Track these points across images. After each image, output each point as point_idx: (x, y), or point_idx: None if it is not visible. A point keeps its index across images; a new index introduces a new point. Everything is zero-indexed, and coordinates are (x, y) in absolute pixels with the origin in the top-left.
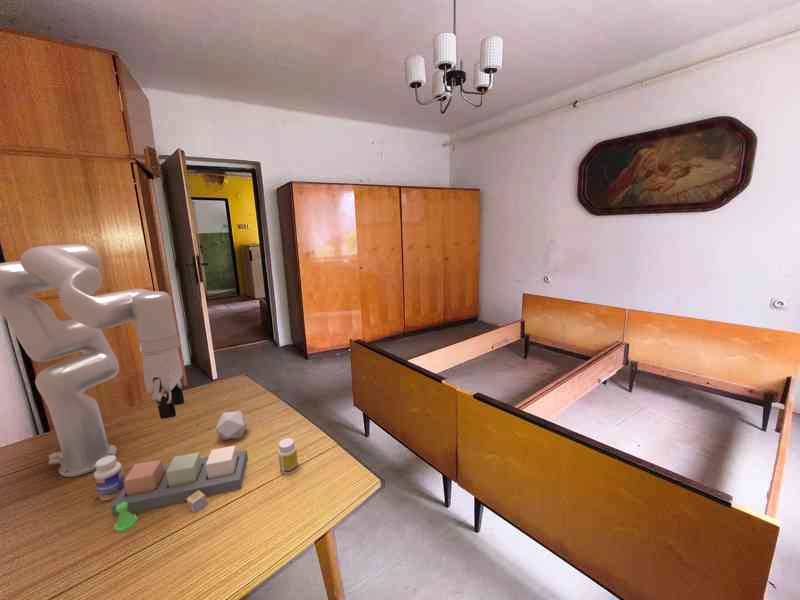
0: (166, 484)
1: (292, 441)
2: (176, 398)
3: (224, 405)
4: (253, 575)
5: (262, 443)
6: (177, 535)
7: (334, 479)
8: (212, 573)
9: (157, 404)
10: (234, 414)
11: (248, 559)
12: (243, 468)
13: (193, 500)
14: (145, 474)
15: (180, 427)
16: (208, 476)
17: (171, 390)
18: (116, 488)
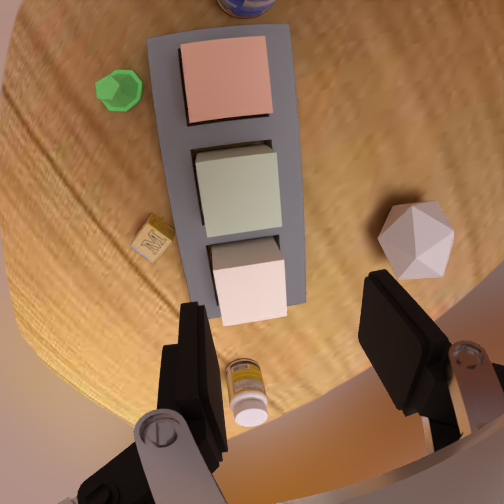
0: (206, 143)
1: (252, 425)
2: (382, 345)
3: None
4: (42, 356)
5: (345, 302)
6: (84, 225)
7: None
8: (34, 310)
9: (137, 430)
10: (433, 267)
11: (58, 348)
12: None
13: (138, 244)
14: (198, 98)
15: (468, 78)
16: (212, 252)
17: (428, 377)
18: (228, 6)
